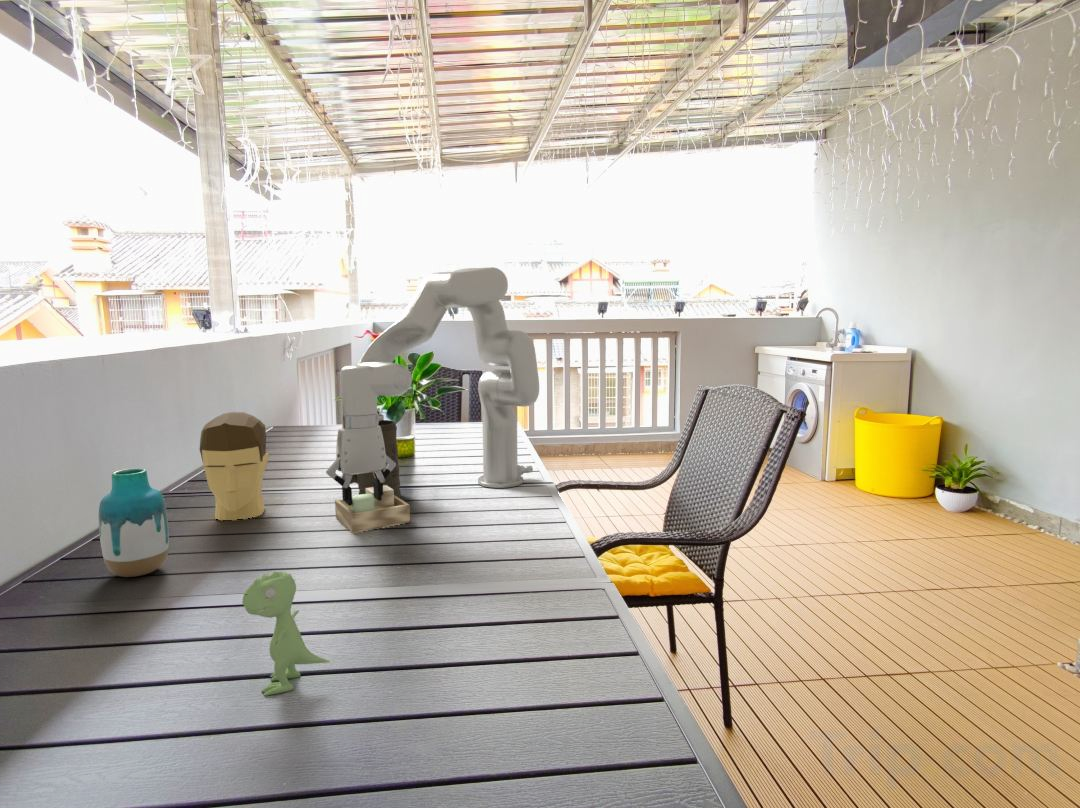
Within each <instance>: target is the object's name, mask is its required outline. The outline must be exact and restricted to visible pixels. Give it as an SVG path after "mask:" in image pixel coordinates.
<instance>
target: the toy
mask: <svg viewBox="0 0 1080 808" xmlns="http://www.w3.org/2000/svg"><path fill="white" fill-rule="evenodd" d="M296 584H297V583H296V580H295V579H294V578H293V575H292V574H291V573H288V572H285V571H275V572H272V573H265V574H264V575H262V576H261V577H256V578H255V580H254V581H253V583H252V584H250V585H249V586H248V588H247V589H245V591H244V592H243V596H242V605H243V606H244V608H245V611H246V612H247V613H248V614H250V615H255V616H259V617H263V618H270V619H272V618H276V620H275V627H274V630H273V635H272V637H271V639H270V641H269V654H270V658H271V660H272V661H273V662H274V666H273V667H274V668H273V670H274V672H273V673H271V675H270V676H269V677H270V678H271V679H270V681H271V682H272V681H273V682H272V683H269V684H268V685H266V686H265V687H264V688H262V689H261V692H262V693H263V696H265V697H266V696H272V695H276V694H277V695H278V694H282V693H287V692H290V691H292V690H294V689H295V687H294V685H293V684H292V683H291V682H289V681H290V679H296V678H300V677H301V673H300V671H298V670H297V669H296V666H295V665H312V664H325V663H326V664H327V663H330V661H331V660H327V659H325V658H323V657H321V656H318V655H317V654H314V653H313V652H311V651H310V650H309V649H308V648H307V645H306V644H305V641H304V640H303V637H302V634H301V633H300V630H299V627H298V625H297V623H296V620H295V617H296V616H297V615H298V613H300V610H299V609H298V610H294V611H293V613H292V612H291V611H292V606H293V602H294V598H295V594H296V591H297V585H296ZM274 681H276V682H274Z"/></svg>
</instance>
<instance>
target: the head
mask: <svg viewBox="0 0 1080 808" xmlns="http://www.w3.org/2000/svg"><path fill="white" fill-rule="evenodd" d="M199 439H200V440H199V452H200V456H201V461H202V464H203V465H202V466H203V469H204V473H205V477H206V481H207V486H208V489H210V491H211V493H212V494H213V495H214V498H215V511H214V513H215V515H214V519H215V520H216V519H218V520H217V521H223V520H232V521H238V520H237V519H243V520H249V519H248V518H250V519H253V518H256V517H260V515H261V516H262V514H263V513H264V512H265V503H264V499H263V496H262V492H263V480H264V473H265V471H266V469H267V466H268V463H269V454H270V453H269V452H266V451H267V450H266V449H267V447H266V446H267V432H266V424H264V423H263V421H262V420H260V419H259V418H257V417H256V416H254V415H252V414H249V413H247V412H243V411H232V412H226V413H224V412H223V413H222V414H220V415H217V416H215V417H214V418H213V419H211V420H210V421H208V422H207V423H206V424H204V426H203V427H202V430H201V431H200V438H199ZM252 517H253V518H252Z"/></svg>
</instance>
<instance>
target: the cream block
mask: <svg viewBox="0 0 1080 808" xmlns="http://www.w3.org/2000/svg"><path fill="white" fill-rule="evenodd" d="M365 489H366V494H371V495H373V496H374V487H370V488H365ZM381 497H382V500H380V501H379V500H377V499H375V498H374V510H376V509H382V508H388V507H394V490H393V489H392V488H390V487H388V486H387V485H384V486H383V495H382V496H381Z"/></svg>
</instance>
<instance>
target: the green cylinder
mask: <svg viewBox="0 0 1080 808" xmlns="http://www.w3.org/2000/svg"><path fill="white" fill-rule="evenodd" d="M371 510H374V496H373V495H371V494H360V495H359V494H355V495H352V505H351V511H352V512H354V513H359V512H365V511H371Z"/></svg>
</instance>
